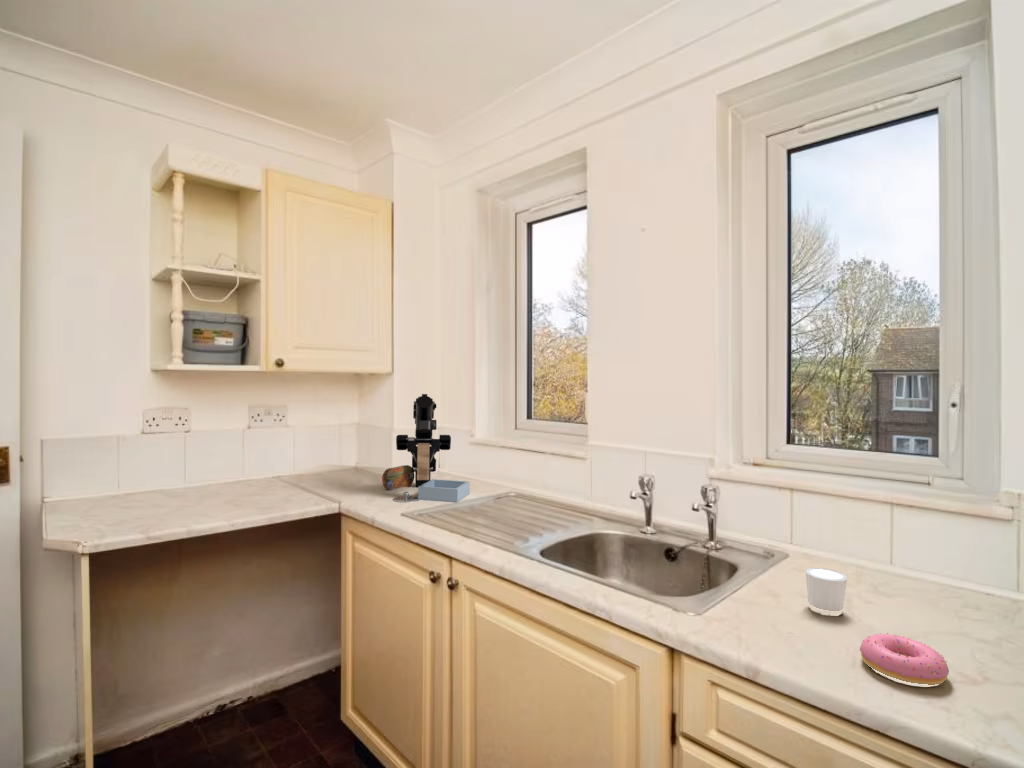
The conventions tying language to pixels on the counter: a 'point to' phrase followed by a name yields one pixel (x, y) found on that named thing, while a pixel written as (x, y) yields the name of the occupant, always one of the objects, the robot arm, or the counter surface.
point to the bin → (444, 490)
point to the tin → (398, 477)
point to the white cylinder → (826, 588)
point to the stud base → (405, 498)
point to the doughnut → (904, 659)
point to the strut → (423, 461)
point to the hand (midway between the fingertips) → (423, 462)
